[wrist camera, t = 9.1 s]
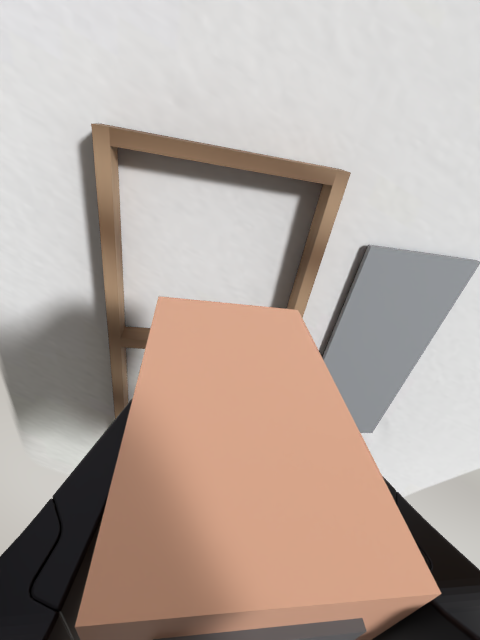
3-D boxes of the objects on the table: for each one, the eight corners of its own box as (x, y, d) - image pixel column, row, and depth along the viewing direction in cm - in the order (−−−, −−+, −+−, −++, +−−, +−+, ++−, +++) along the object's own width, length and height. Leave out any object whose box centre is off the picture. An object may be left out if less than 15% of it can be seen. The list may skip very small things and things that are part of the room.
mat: (370, 429, 33) (372, 432, 33) (293, 428, 31) (294, 431, 31) (476, 260, 22) (480, 262, 22) (368, 244, 21) (371, 246, 21)
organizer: (255, 440, 32) (257, 453, 31) (121, 438, 30) (117, 452, 28) (340, 169, 18) (350, 172, 17) (100, 123, 16) (91, 123, 14)
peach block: (268, 402, 14) (331, 676, 7) (155, 398, 13) (102, 708, 6) (297, 310, 11) (448, 607, 4) (158, 296, 10) (69, 646, 3)
